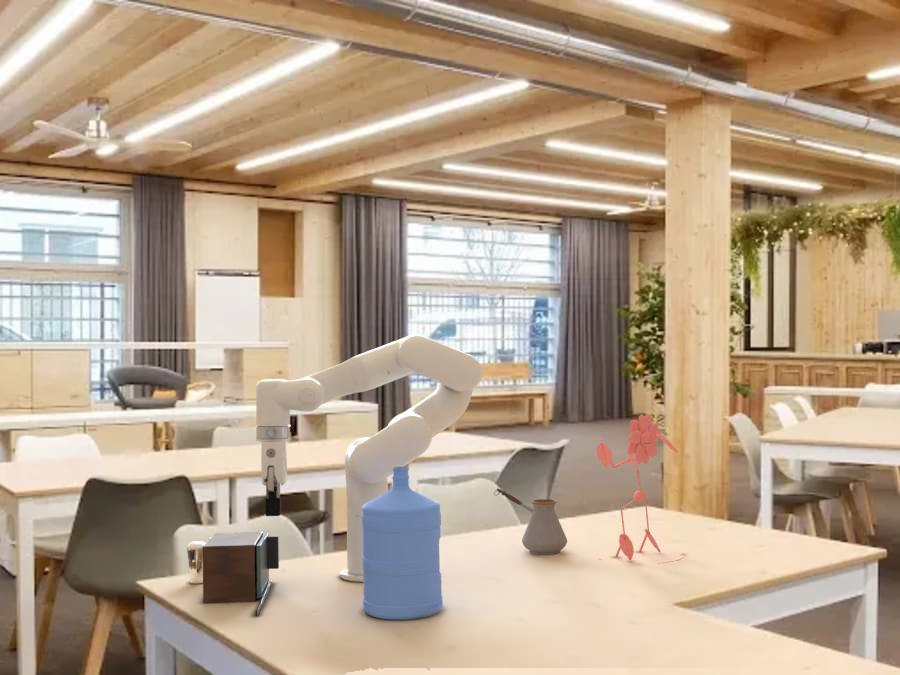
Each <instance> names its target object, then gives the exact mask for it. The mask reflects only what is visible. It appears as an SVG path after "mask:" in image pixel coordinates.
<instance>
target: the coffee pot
mask: <svg viewBox="0 0 900 675" xmlns="http://www.w3.org/2000/svg"><path fill="white" fill-rule="evenodd" d="M496 492H498V493H497V494H496ZM499 494H501V496H504V497H505V498H507V499H508V500H509V501H511V502H513V503H515V504H517V505H519V506H521V507H522V508H524V509H526V510H527V511H528V512H530V513H531V516H530V518H529V520H528V524H527V526H526V528H525V531H524V534H523V536H522V539H521V543H522V545H523V547H524V548H525V549H526V550H528V551H529V553H530V554H533V555H557V554H560V552H561V551H562V550H563V549H564V548H565V547H566V546H567V544H568V539H567V536H566V534H565V531H564V529H563V527H562V524H561V522H560V520H559V517H558V515H557V513H556V511H555V507H556V505H555V504H557V500H556V499H547V498H545V499H533V500H531V501H530V503H531V504H532V506H533V508H532V507H531V506H529V505H527V504H525V503H524V502H522V501H520V500H519V499H518V498H516V497H515V496H514V495H512V494H510V493H507V492H506V491H505V490H502V489H501V488H497V487H496V489H495V490H494V492H493V495H494V496H495V497H496V496H498V495H499Z"/></svg>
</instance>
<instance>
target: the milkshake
mask: <svg viewBox="0 0 900 675" xmlns="http://www.w3.org/2000/svg"><path fill="white" fill-rule="evenodd" d="M210 538H211V537H209V538H208V540H209V539H210ZM205 543H206V542H204V541H202V540H200V541H191V542H189V543H188V544H187V546H186V551H187V560H188V570H189V583H190V584H194V585H195V584H196V585H197V584H203V546H204V545H205Z"/></svg>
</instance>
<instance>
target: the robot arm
mask: <svg viewBox="0 0 900 675" xmlns="http://www.w3.org/2000/svg"><path fill="white" fill-rule="evenodd" d="M413 374H418V375H420V376H422V377H424V378H427V379H429V380H432V381H433V382H437V383H438V385H437V387H436V388H435V390H434V391H433V392H432V393H430V394H429V395H428V396H427V397H425V398H424V399H422V400H421V401H419V402H418V403H416V404H414V405H413V406H411V407H409V408H408V409H407V410H405V411H403V412H401V413H399V414H397V415H396V416H394V417H393V418H392V419H391V420H390V421H389V423H388V424H387V426H385V427H384V428H383V429H381V430H379V431H378V432H376V433H375V434H373V435H372V436H370V437H369V436H368V437H367V436H365V437H360V438H357V439H355V440H354V441H352V443H350V445H349V446H348V447H347V450H346V452H345V456H344V473H345V489H346V490H345V491H346V492H345V493H346V547H347V548H346V558H347V559H346V560H347V564H346V566H347V568H344V569H342V570H341V571H340V578H342V579H343V580H345V581H350V582H361V583H363V566H362V557H363V527H362V507H363V505H364V504H365V503H367V502H369V501H371V500H373V499H374V498H376V497H378V496H380V495H382V494H384V493H386V492H388V491H389V486H388V483H389V482H388V477H390V476H391V475H392V476H393V470H392V468H395V467H407V465H409V464H410V463H412V462H413V461H414V460H416V459H418V458H419V457H421V456H422V455H423V454H424V453H425V452H426V451H427V450H428V449H429V447H430V445H431V443H432V440H433V438H435V437H436V436H437V435H439V434H440V433H442V432H443V431H444V430H445V429H447V428H448V427H450V426H452V425H453V424H454V423H456V422H457V421H458V420H459V419H460V418H461V417H462V416H463V415H464V413H465V412H466V410H467V409H468V407H469V405H470V402H471V398H472V395H473V390H474V389H475V388H476V387H477V386H478V385H479V384H480V383H481V380H482V377H483V368H482V365H481V363H480V362H479V360H478V359H477V358H476V357H475V356H473V355H472V354H469V353H467V352H464V351H461V350H459V349H457V348H455V347H451V346H449V345H446V344H444V343H441V342H439V341H437V340H434V339H433V338H430V337H428V336H426V335H422V334H411V335H408V336H405V337H402V338H400V339H396V340H394V341H391V342H389V343H386V344H383V345H380V346H378V347H376V348H373V349H371V350H367V351H365V352H363V353H359V354H357V355H355V356H352V357H350V358H349V359H347V360H345V361H343V362H341V363H338V364H336V365H333V366H331V367H328V368H326V369H323V370H320V371H318V372H315V373H312V374H309V375H307V376H304V377H302V378H299V379H291V380H286V379H283V378H282V379H281V378H267V379H260V380H258V381H257V383H256V386H255V401H256V402H255V421H256V422H255V438H256V439H255V441H257V442H261V445H260V446H261V449H260V451H261V452H260V453H261V454H260V456H261V457H260V458H261V459H260V460H261V461H260V465H261V467H260V468H261V470H260V471H261V483H262V485H263V486H265V517H280V516H281V513H282V497H281V486H284V485H285V484H286V483H287V481H288V466H287V465H288V462H287V460H288V459H287V458H288V457H287V441H290V440H291V411H298V412H306V413H307V412H308V413H309V412H313V411H316V410H317V409H319V408H320V407H321V406H322V405H325V404H327V403H329V402H332V401H334V400H337V399H339V398H343V397H346V396H348V395H353V394H357V393H363V392H367V391H371V390H374V389H376V388H380V387H382V386H384V385H387V384H389V383H392V382H395V381H397V380H400V379H402V378H405V377H407V376H410V375H413Z"/></svg>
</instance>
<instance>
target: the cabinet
mask: <svg viewBox="0 0 900 675" xmlns="http://www.w3.org/2000/svg"><path fill="white" fill-rule="evenodd" d="M263 535H264V532H263V531H250V532H249V531H248V532H247V531H246V532H245V531H244V532H216V533H215V532H214V534H213V535H212V536H211V537H209V538H210V539H209V538H208V540H207V541H206V542H205V545H204V546H203V583H202V602H203V604H210V603H212V604H213V603H238V602H239V603H240V602H241V603H242V602H256V601H257V599H258V598H257V544H258V543H259V541H260V540H261V538H262V537H263ZM272 586H273V578H271V579H269V582H268V584H267V586H266V589H265V591H264V593H263V595H262V597H261V598H260V600H259V603H258V604H257V608H256V609H255V612H254V613H255V614H254V615H255V617H258V616H259V613H260V611H261V609H262V607H263V605H264V603H265V600H266V598H267V596H268V594H269V592H270V590H271V588H272Z"/></svg>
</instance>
